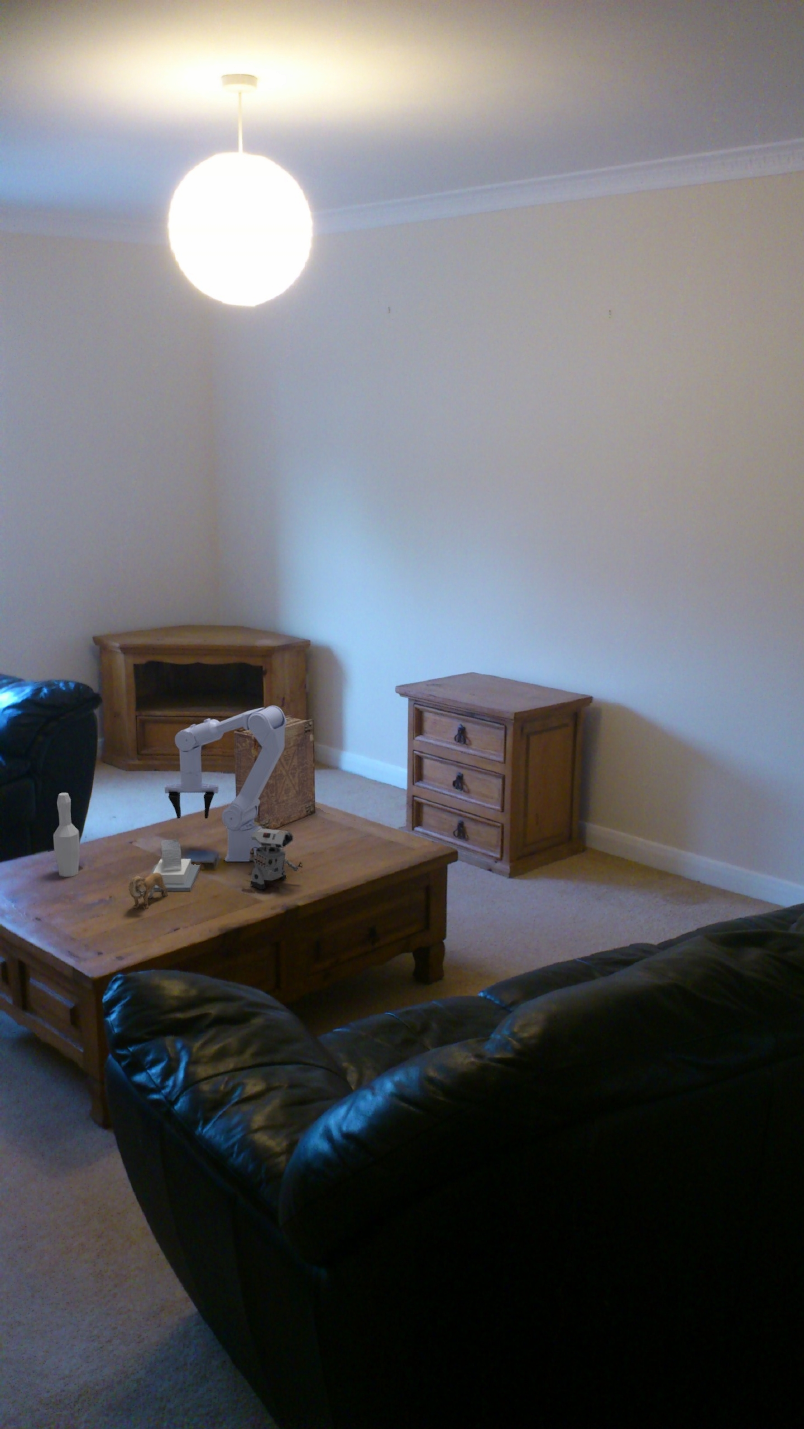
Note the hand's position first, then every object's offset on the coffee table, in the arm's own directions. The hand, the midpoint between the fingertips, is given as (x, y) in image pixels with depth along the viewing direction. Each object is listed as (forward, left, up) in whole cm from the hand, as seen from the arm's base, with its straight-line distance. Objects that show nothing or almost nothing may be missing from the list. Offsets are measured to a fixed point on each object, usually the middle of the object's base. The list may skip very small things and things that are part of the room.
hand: (192, 817), depth 305 cm
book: (-21, -24, -10) cm, 33 cm away
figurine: (-25, +26, -10) cm, 37 cm away
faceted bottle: (+30, +18, -10) cm, 36 cm away
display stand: (+2, +22, -9) cm, 24 cm away
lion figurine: (+5, +38, -10) cm, 39 cm away
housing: (+2, +22, -6) cm, 22 cm away
